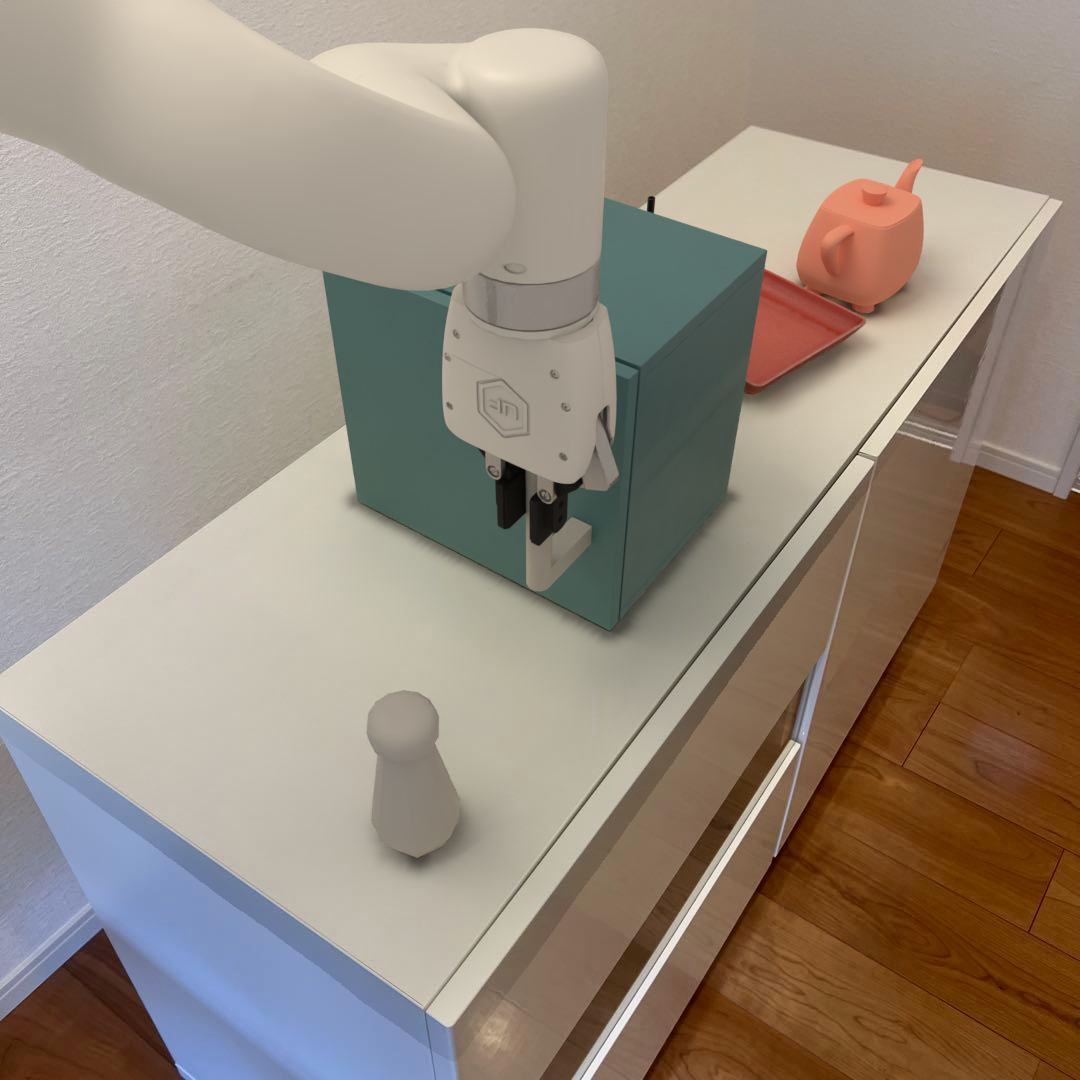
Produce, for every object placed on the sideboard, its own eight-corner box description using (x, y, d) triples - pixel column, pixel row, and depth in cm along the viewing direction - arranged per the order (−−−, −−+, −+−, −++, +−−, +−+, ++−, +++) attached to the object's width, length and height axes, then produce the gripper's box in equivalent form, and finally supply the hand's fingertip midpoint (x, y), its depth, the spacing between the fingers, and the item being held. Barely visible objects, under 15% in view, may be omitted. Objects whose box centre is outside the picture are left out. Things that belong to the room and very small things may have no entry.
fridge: (619, 621, 85) (641, 366, 68) (368, 493, 96) (332, 245, 79) (726, 497, 96) (768, 249, 79) (489, 394, 107) (481, 157, 90)
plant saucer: (732, 278, 123) (736, 252, 120) (864, 345, 113) (871, 317, 111) (621, 338, 114) (623, 311, 112) (753, 415, 104) (758, 388, 102)
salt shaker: (427, 777, 75) (412, 657, 66) (479, 832, 72) (471, 715, 63) (357, 826, 72) (332, 709, 63) (408, 886, 69) (389, 771, 60)
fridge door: (564, 684, 81) (572, 431, 64) (306, 542, 91) (255, 294, 75) (618, 621, 85) (639, 370, 68) (366, 493, 96) (330, 248, 79)
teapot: (860, 341, 114) (886, 238, 105) (763, 302, 119) (780, 200, 111) (942, 267, 125) (972, 167, 116) (850, 234, 130) (872, 137, 122)
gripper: (375, 265, 60) (403, 509, 73) (618, 360, 53) (601, 610, 66) (458, 212, 64) (471, 451, 77) (692, 294, 58) (663, 540, 70)
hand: (531, 523), depth 71 cm, fingers closed on fridge door, 2 cm apart
